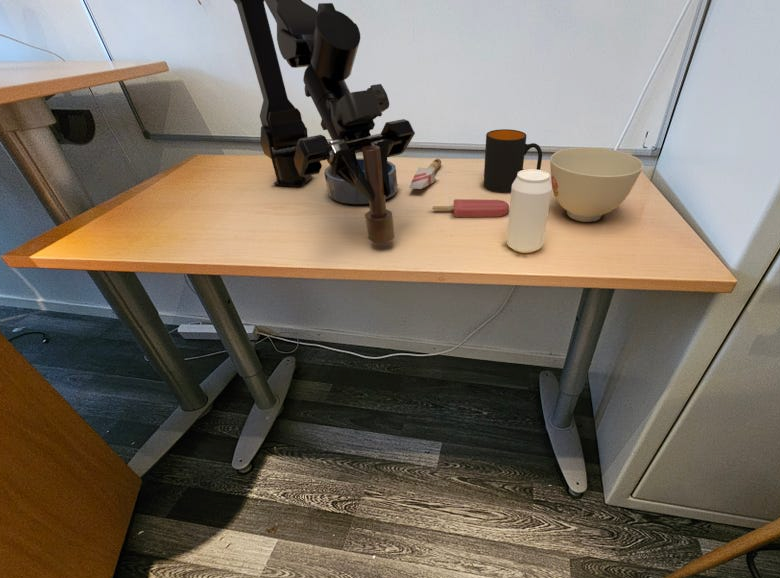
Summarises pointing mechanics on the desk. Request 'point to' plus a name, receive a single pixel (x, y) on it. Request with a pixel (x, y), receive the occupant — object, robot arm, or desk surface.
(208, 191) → the desk surface
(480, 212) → the popsicle
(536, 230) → the beverage can
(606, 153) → the bowl
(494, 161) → the mug
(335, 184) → the blue grey round dish
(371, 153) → the pestle
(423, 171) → the paintbrush
